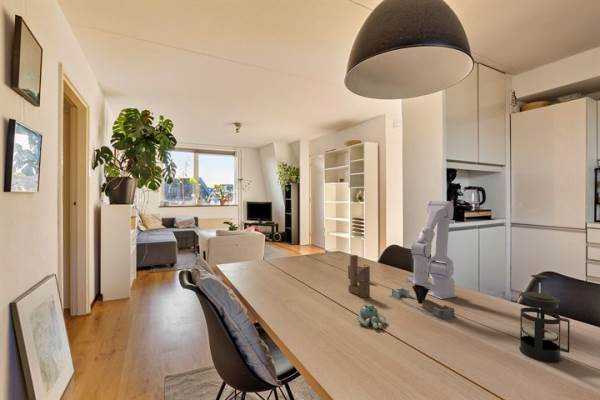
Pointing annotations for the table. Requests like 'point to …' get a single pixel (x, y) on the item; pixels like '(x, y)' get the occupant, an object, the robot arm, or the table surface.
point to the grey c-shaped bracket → (443, 312)
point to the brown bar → (431, 305)
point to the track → (416, 307)
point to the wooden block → (359, 278)
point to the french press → (541, 327)
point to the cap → (400, 292)
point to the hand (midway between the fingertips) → (421, 303)
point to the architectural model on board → (358, 269)
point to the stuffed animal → (371, 316)
